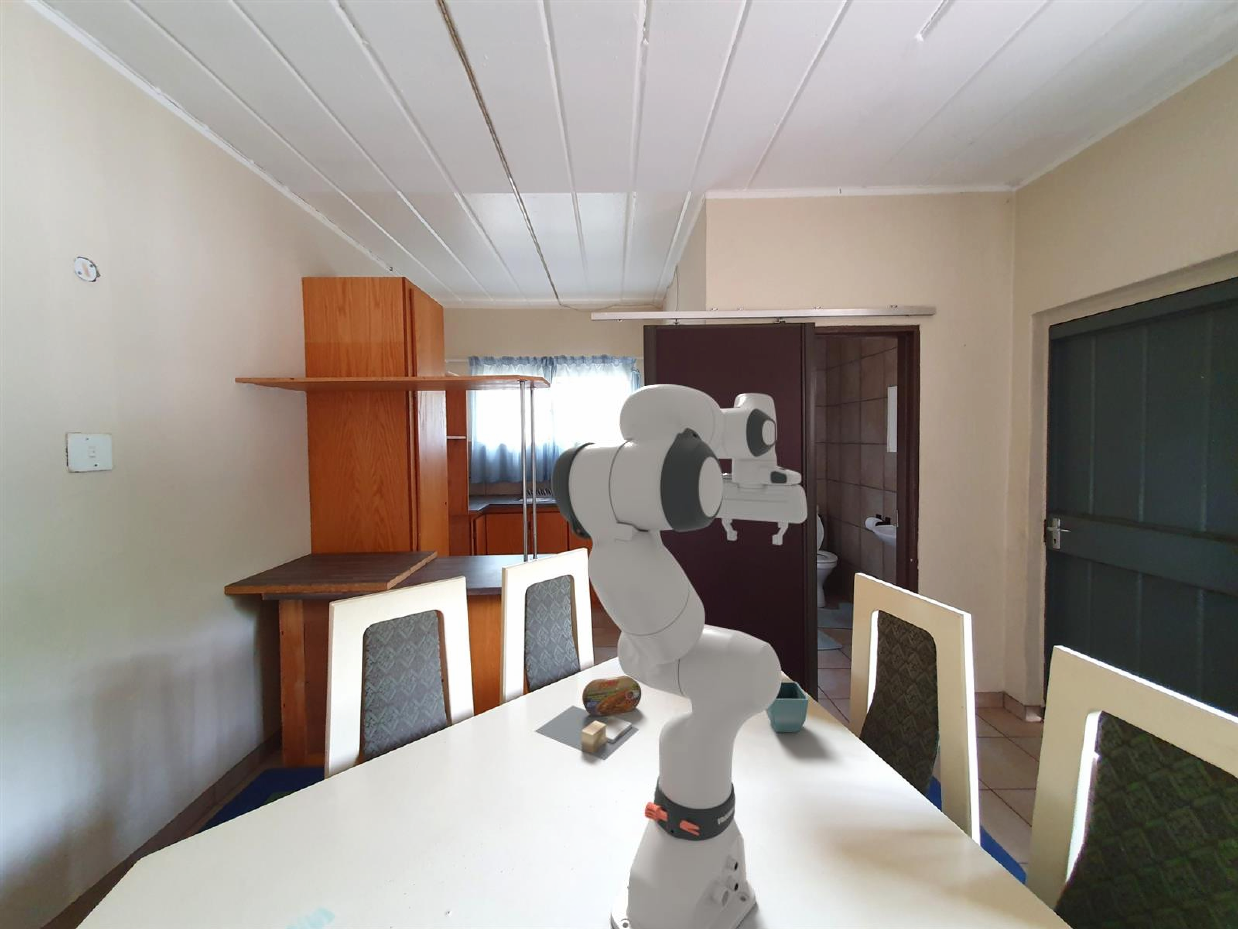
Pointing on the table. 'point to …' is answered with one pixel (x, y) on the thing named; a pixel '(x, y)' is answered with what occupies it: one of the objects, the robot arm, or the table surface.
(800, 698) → the flower pot
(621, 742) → the mat
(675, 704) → the table surface
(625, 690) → the tin
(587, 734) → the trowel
